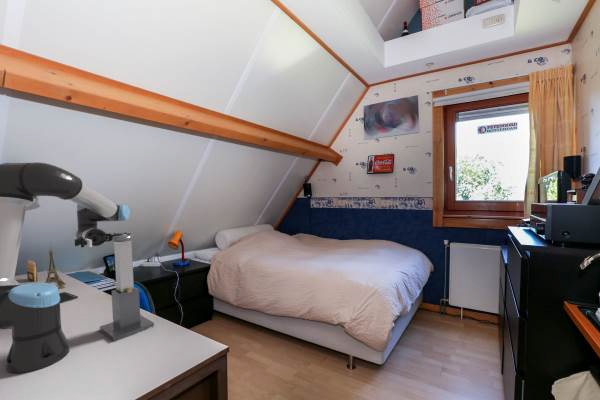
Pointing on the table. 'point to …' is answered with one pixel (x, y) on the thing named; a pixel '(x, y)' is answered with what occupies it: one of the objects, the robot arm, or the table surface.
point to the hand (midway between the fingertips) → (110, 241)
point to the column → (123, 263)
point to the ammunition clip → (31, 271)
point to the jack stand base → (125, 316)
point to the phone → (66, 297)
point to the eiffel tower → (56, 278)
